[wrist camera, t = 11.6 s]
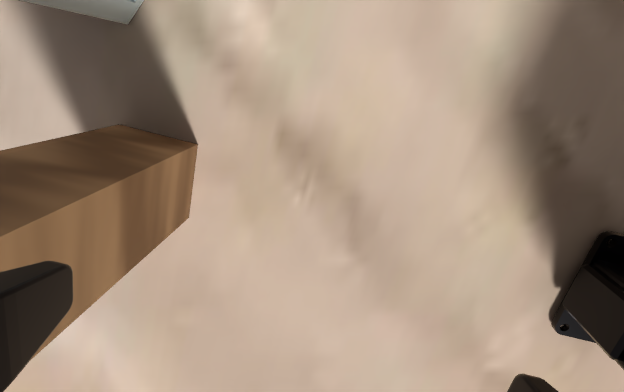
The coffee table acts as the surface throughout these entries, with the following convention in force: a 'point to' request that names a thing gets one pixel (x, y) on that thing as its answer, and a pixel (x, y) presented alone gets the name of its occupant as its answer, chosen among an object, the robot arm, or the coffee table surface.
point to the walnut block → (92, 205)
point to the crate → (96, 8)
